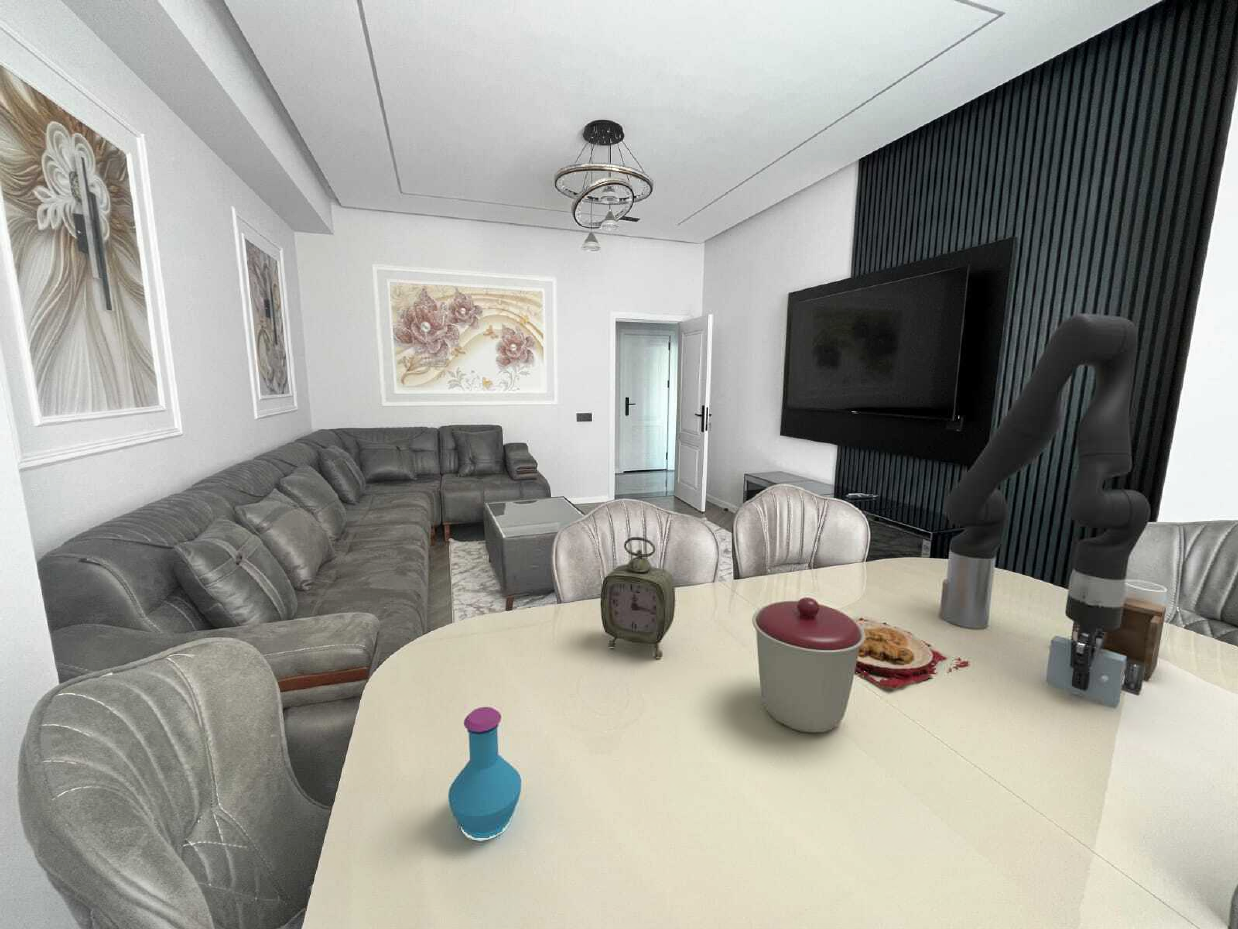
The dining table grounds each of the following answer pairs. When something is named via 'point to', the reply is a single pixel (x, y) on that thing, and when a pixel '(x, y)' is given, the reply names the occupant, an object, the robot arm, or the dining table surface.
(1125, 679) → the hinge clips
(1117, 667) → the door
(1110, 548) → the robot arm
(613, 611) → the tabletop clock
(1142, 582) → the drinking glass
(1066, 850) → the dining table surface
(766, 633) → the canister
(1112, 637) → the cabinet
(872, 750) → the dining table surface
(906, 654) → the plate with food
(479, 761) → the perfume bottle
